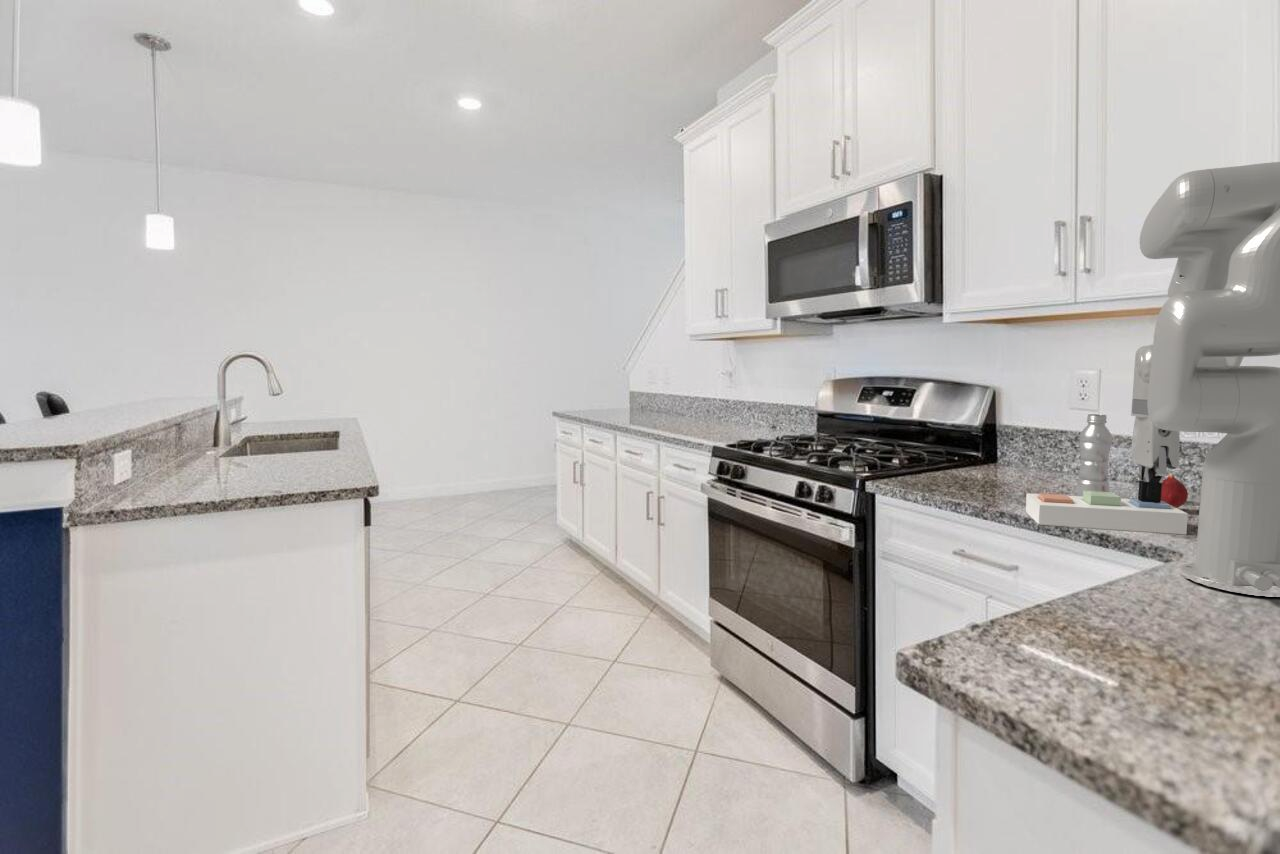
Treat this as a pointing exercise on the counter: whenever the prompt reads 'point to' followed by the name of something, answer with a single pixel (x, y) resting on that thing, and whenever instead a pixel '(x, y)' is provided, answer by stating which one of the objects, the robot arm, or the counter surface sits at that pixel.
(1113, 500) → the sage key
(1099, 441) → the plastic bottle
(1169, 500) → the onion
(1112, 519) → the button panel
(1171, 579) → the counter surface
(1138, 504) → the slate key
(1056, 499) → the terracotta key
